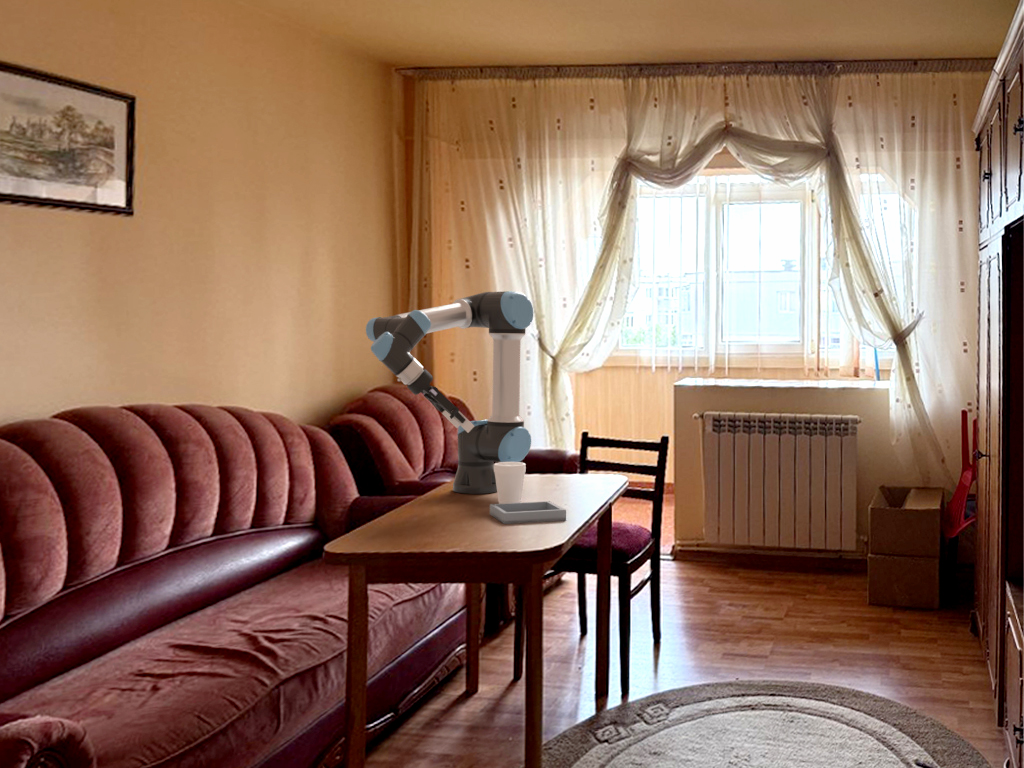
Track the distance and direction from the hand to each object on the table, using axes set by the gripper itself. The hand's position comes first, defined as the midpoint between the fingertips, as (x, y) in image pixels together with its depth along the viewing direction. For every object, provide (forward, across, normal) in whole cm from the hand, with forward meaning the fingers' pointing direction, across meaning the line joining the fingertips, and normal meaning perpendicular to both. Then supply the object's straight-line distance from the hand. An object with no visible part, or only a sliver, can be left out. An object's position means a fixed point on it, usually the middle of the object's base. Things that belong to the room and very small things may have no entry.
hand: (465, 427), depth 335 cm
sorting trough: (+27, +18, -8) cm, 33 cm away
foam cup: (+27, 0, -8) cm, 28 cm away
